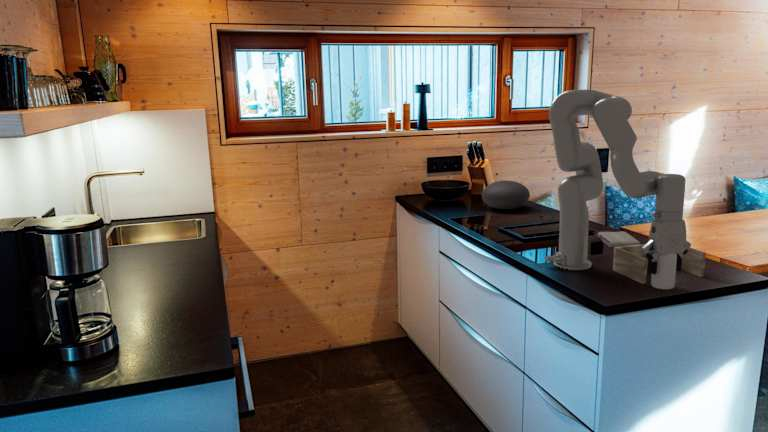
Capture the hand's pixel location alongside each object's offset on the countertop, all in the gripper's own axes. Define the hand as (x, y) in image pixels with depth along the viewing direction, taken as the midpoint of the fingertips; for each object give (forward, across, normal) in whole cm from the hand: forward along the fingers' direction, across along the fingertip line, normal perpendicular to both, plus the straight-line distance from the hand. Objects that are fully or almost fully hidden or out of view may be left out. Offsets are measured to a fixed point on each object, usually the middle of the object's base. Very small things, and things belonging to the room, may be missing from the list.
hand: (664, 271), depth 169 cm
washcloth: (+6, +20, +50) cm, 54 cm away
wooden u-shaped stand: (+5, +7, +12) cm, 14 cm away
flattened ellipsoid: (+5, +6, +126) cm, 126 cm away
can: (+5, 0, 0) cm, 5 cm away
